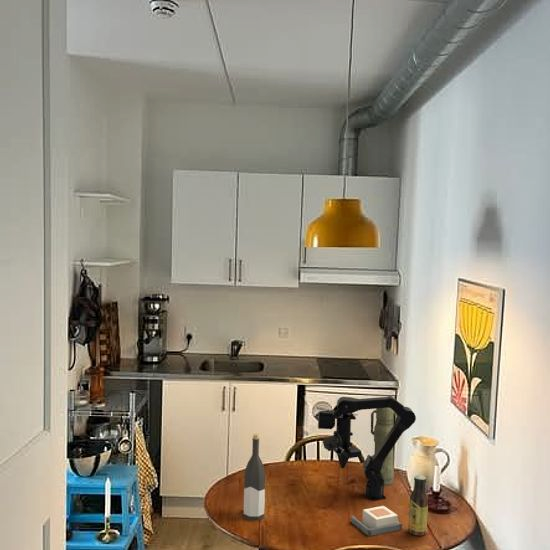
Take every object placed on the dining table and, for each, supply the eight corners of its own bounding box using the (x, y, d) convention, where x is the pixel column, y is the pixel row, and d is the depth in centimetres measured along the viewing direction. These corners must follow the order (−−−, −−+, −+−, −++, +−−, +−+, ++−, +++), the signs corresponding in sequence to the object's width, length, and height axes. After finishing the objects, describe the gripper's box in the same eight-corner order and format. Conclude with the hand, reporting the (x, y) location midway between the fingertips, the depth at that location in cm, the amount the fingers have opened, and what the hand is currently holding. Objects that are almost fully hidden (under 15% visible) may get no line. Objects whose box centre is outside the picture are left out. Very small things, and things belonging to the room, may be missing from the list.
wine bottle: (267, 513, 214) (270, 433, 213) (260, 522, 206) (262, 439, 205) (247, 509, 216) (249, 430, 215) (239, 518, 209) (241, 436, 208)
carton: (383, 519, 212) (383, 505, 212) (397, 529, 204) (397, 515, 204) (362, 523, 208) (363, 509, 208) (376, 533, 201) (376, 519, 200)
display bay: (383, 515, 214) (383, 510, 214) (402, 529, 204) (402, 523, 204) (350, 521, 209) (350, 516, 208) (368, 536, 198) (368, 530, 198)
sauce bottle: (405, 528, 205) (407, 472, 204) (422, 528, 205) (425, 472, 205) (411, 537, 198) (413, 480, 198) (429, 537, 199) (431, 480, 198)
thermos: (369, 476, 253) (371, 397, 252) (396, 479, 250) (399, 399, 249) (367, 484, 244) (370, 401, 243) (396, 487, 242) (399, 404, 241)
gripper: (314, 424, 236) (313, 462, 237) (337, 438, 219) (336, 479, 220) (338, 422, 241) (337, 459, 242) (362, 435, 224) (361, 475, 224)
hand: (342, 468), depth 232 cm, fingers closed
